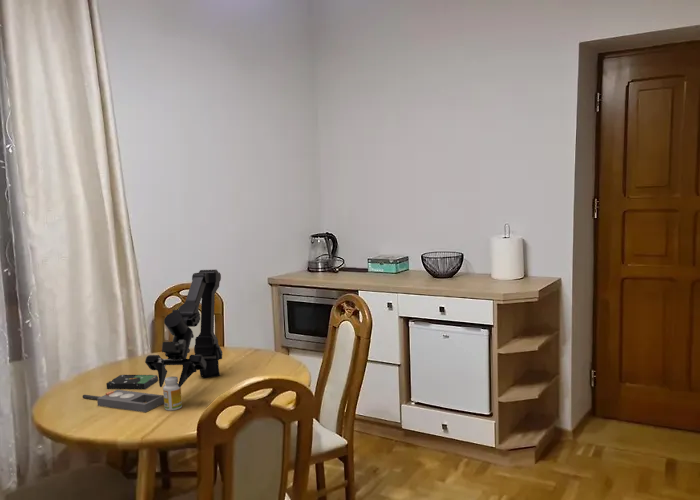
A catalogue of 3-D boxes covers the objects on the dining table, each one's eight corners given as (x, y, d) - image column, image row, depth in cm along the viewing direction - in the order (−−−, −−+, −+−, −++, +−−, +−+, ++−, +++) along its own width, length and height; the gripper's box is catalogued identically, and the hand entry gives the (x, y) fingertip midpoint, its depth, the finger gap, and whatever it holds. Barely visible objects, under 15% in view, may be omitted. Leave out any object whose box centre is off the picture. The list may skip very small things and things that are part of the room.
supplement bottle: (184, 404, 205) (182, 375, 203) (179, 410, 199) (177, 380, 198) (167, 405, 205) (165, 375, 204) (162, 411, 199) (159, 381, 198)
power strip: (164, 402, 207) (164, 393, 207) (145, 412, 199) (144, 402, 198) (93, 393, 220) (92, 384, 219) (72, 402, 212) (71, 393, 211)
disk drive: (106, 391, 224) (145, 390, 222) (105, 383, 224) (145, 382, 222) (121, 381, 235) (158, 381, 232) (120, 374, 234) (158, 373, 232)
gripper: (145, 330, 204) (131, 374, 195) (200, 330, 202) (190, 374, 192) (157, 348, 213) (145, 390, 203) (210, 347, 211) (201, 391, 201)
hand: (169, 386), depth 200 cm, fingers open, 6 cm apart
